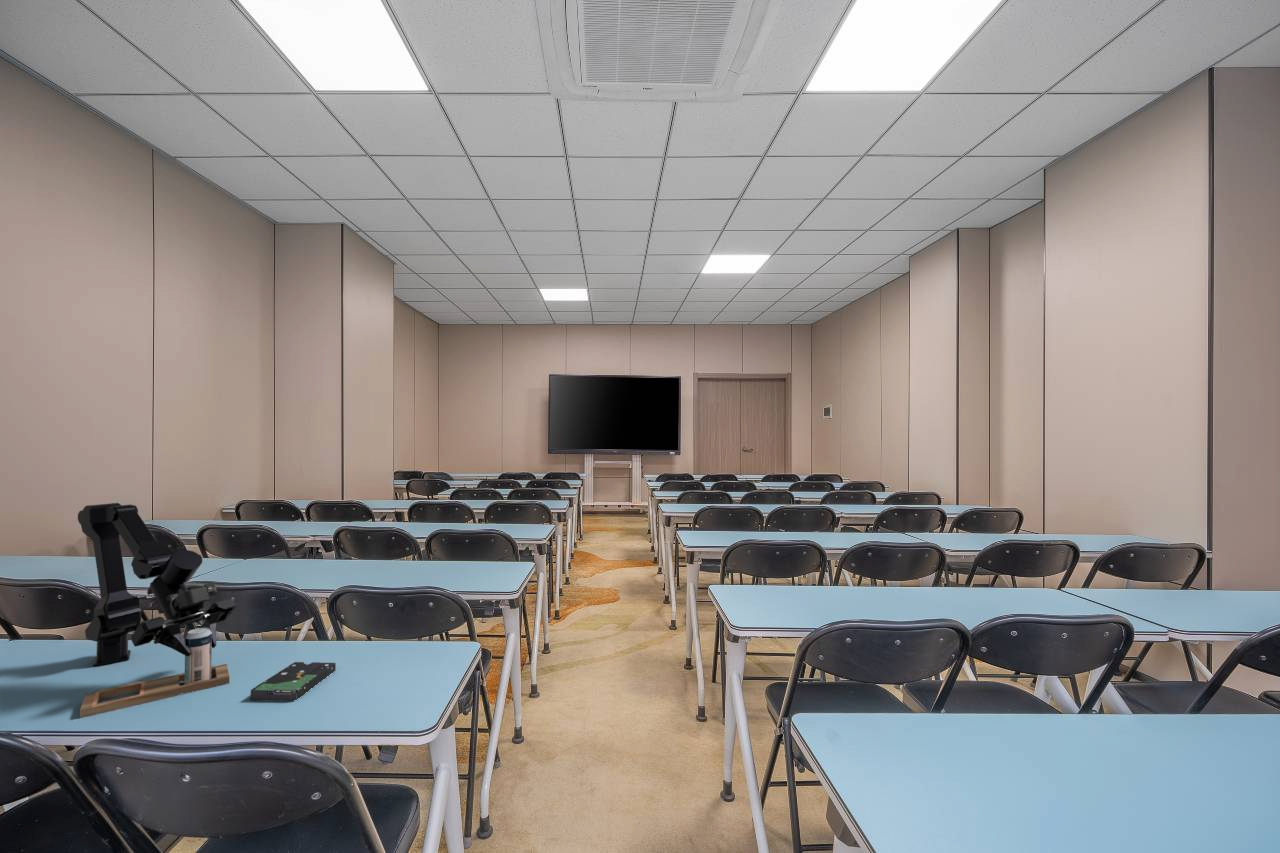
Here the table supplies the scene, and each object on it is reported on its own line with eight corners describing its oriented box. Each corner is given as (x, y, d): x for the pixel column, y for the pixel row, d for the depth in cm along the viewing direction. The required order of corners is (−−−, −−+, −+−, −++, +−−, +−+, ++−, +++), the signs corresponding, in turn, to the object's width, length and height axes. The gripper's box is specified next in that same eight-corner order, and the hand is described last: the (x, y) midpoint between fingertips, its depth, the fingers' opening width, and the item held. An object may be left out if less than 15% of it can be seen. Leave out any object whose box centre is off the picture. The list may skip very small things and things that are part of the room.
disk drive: (293, 673, 132) (249, 702, 117) (293, 661, 132) (249, 689, 117) (336, 673, 132) (297, 703, 117) (336, 662, 132) (297, 689, 117)
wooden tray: (85, 701, 116) (85, 693, 116) (226, 670, 132) (226, 663, 132) (79, 718, 109) (79, 710, 110) (229, 683, 125) (229, 676, 125)
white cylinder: (216, 679, 127) (217, 627, 127) (198, 688, 122) (198, 634, 122) (197, 678, 127) (198, 626, 128) (178, 687, 123) (179, 633, 123)
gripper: (139, 585, 118) (170, 644, 114) (231, 565, 135) (261, 616, 131) (118, 616, 121) (146, 675, 117) (210, 594, 138) (238, 644, 134)
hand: (202, 650), depth 124 cm, fingers closed on white cylinder, 5 cm apart
